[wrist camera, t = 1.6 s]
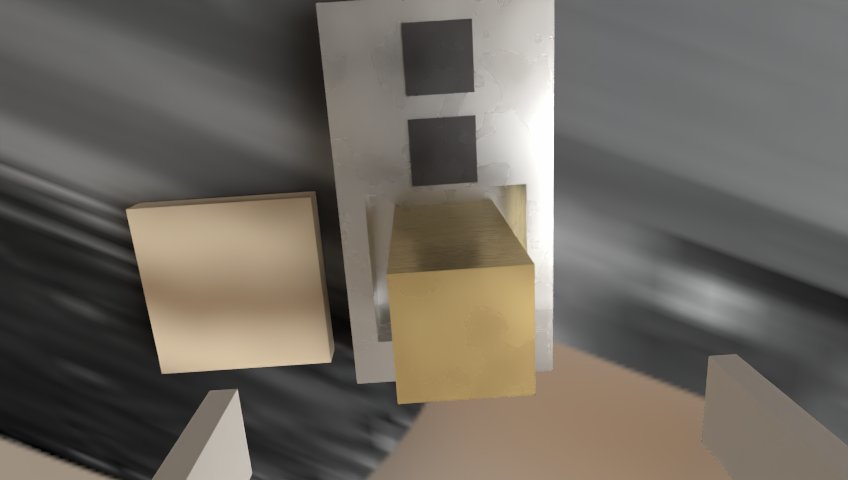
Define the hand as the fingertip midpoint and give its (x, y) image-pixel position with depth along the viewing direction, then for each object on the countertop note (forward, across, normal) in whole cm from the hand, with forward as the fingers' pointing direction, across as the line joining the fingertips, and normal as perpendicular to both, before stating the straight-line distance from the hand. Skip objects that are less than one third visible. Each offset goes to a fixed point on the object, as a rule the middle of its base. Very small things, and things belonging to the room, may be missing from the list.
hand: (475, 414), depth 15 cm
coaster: (+15, -11, 0) cm, 18 cm away
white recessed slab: (+15, 0, +4) cm, 15 cm away
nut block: (+14, 0, 0) cm, 14 cm away
